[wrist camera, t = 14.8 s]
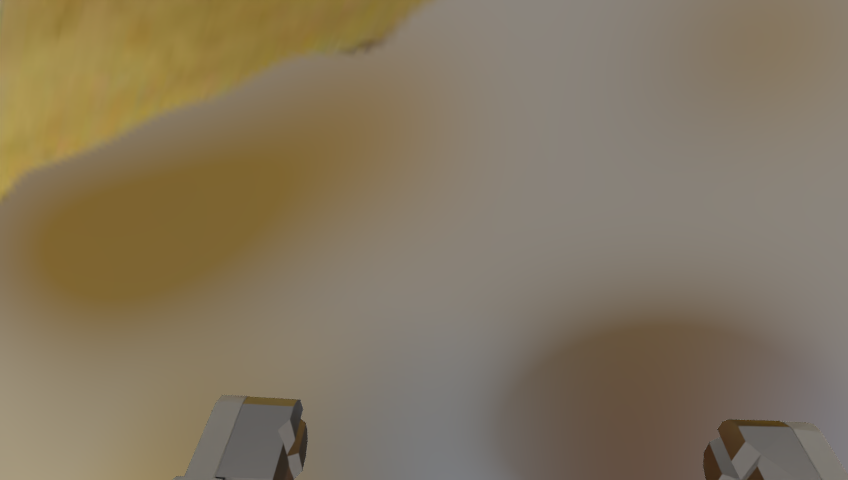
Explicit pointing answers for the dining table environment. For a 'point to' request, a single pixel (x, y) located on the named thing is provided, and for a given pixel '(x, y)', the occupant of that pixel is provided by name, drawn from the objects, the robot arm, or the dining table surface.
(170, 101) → the dining table surface
